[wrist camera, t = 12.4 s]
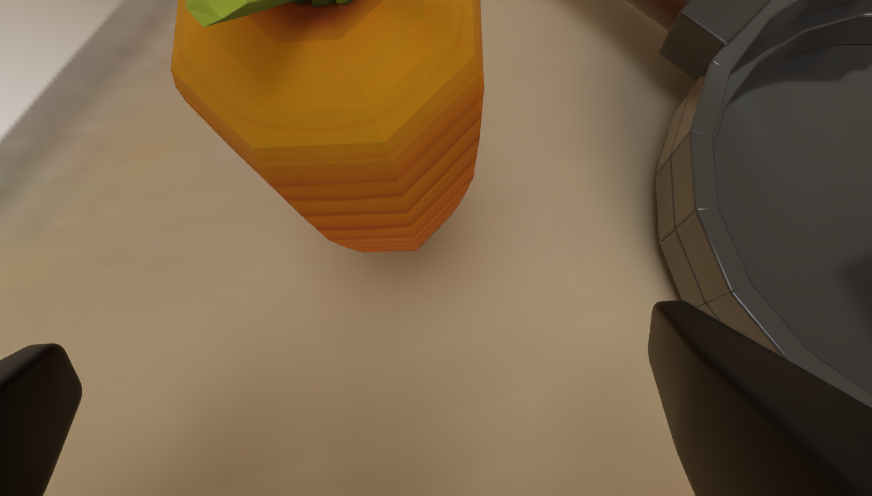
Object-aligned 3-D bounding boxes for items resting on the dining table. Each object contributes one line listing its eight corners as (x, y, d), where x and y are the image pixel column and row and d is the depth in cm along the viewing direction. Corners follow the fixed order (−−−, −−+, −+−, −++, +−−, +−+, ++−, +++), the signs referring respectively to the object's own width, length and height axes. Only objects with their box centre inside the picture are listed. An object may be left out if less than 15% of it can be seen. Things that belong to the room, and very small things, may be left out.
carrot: (443, 130, 20) (368, -639, 5) (508, 264, 18) (648, -267, 4) (303, 190, 19) (-183, -449, 5) (359, 331, 18) (-76, 17, 4)
